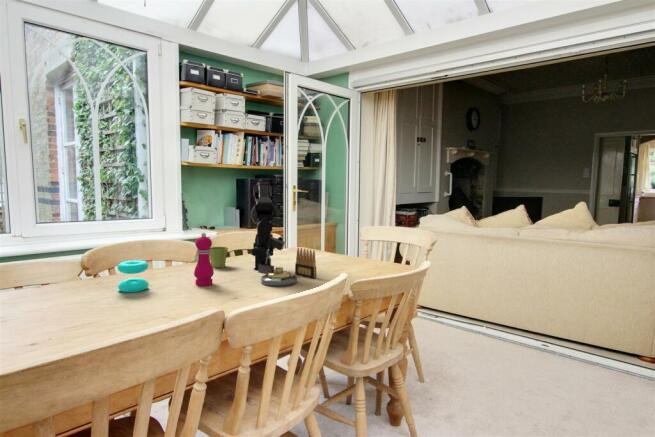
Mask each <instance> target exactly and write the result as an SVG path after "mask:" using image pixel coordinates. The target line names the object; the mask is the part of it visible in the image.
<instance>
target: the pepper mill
mask: <svg viewBox="0 0 655 437" xmlns="http://www.w3.org/2000/svg"><path fill="white" fill-rule="evenodd" d="M195 247H196V251H197V252H196V253H197V255H198V256H197V258H198V259H197V262H196V266H195V267H194V271H193V272H194V273H193V275H194V277H195V278H196V279H195V285H196V286H198V287H208V286H212V284H213V276H214V273H215V272H214V268H213V267H212V265H211V260H210V254H209V253H211V252H210V247H213V243H212V239H211V238H210V237H207V234H206V233H205V232H202V233H201V234H200V236H199V237H198V238H197V239H196V240H195Z"/></svg>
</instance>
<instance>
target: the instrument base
mask: <svg viewBox="0 0 655 437" xmlns="http://www.w3.org/2000/svg"><path fill="white" fill-rule="evenodd" d="M297 279H298V277H297V275H295V274H291V277H290V278H288V279H281V278H272V279H270V278H268V274H264V275H262V276H261V281H260V282H261V284H262V285H264V286H265V287H271V288H272V287H273V288H285V287H286V288H287V287H292V286H295V285H296V284H297V282H298V280H297Z"/></svg>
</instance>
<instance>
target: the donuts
mask: <svg viewBox="0 0 655 437" xmlns="http://www.w3.org/2000/svg"><path fill="white" fill-rule="evenodd" d="M148 268H149V264H148V262H147V261H145V260H134V259H133V260H125V261H123V262H120V263H119V264H118V265H117V270H118V272H120V273H122V274H126V275H135V274H140V273H143V272H145V271H147V270H148ZM148 287H149V281H147V279H145V278H142V277H141V278H140V277H139V278H138V277H132V278H127V279H124V280H122V281H120V282H119V283H118V285H117V289H118V290H119V291H120V292H122V293H138V292H143V291H144V290H146V289H148Z"/></svg>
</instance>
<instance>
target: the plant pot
mask: <svg viewBox="0 0 655 437" xmlns="http://www.w3.org/2000/svg"><path fill="white" fill-rule="evenodd" d="M228 250H229V247H228V246H211V247H210V252H211V253H209V259H210V263H211V265H212V267H213V269H215V268H216V269H217V268H225V266H226V262H227V261H226V260H227V255H228V254H227V253H228Z"/></svg>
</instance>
